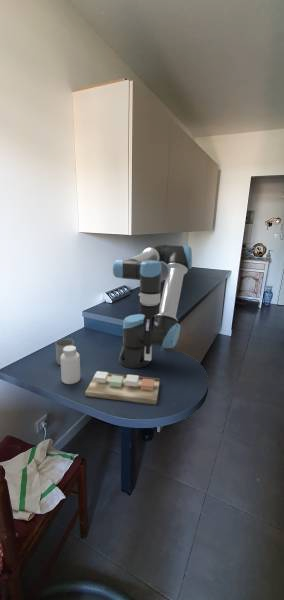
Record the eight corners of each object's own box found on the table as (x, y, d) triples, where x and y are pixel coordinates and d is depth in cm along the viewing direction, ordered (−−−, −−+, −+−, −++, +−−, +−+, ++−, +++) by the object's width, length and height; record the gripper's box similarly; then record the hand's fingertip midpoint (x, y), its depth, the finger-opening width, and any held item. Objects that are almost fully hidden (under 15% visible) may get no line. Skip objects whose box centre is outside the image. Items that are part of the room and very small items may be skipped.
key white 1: (97, 375, 116) (97, 371, 115) (108, 376, 115) (108, 372, 115) (93, 381, 111) (93, 377, 111) (105, 382, 111) (104, 378, 110)
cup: (61, 367, 129) (60, 347, 126) (53, 360, 135) (52, 341, 132) (77, 361, 134) (76, 342, 132) (69, 355, 140) (68, 337, 138)
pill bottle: (63, 386, 114) (61, 353, 110) (60, 376, 121) (58, 345, 117) (82, 382, 117) (81, 350, 113) (78, 373, 124) (77, 342, 120)
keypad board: (96, 377, 122) (96, 371, 121) (159, 383, 118) (159, 378, 117) (85, 396, 108) (85, 390, 108) (156, 404, 105) (156, 398, 104)
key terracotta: (142, 382, 114) (142, 378, 113) (154, 384, 113) (154, 379, 112) (140, 389, 109) (141, 385, 109) (153, 390, 108) (153, 386, 108)
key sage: (112, 379, 115) (112, 375, 115) (123, 380, 115) (123, 376, 114) (109, 385, 111) (109, 381, 110) (120, 387, 110) (120, 382, 110)
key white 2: (127, 378, 114) (127, 374, 114) (138, 379, 114) (138, 375, 113) (124, 385, 110) (125, 380, 109) (136, 386, 109) (136, 382, 108)
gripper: (141, 297, 109) (140, 351, 116) (137, 307, 96) (136, 367, 103) (160, 298, 108) (158, 352, 115) (158, 309, 95) (155, 369, 102)
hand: (147, 359), depth 109 cm, fingers closed
